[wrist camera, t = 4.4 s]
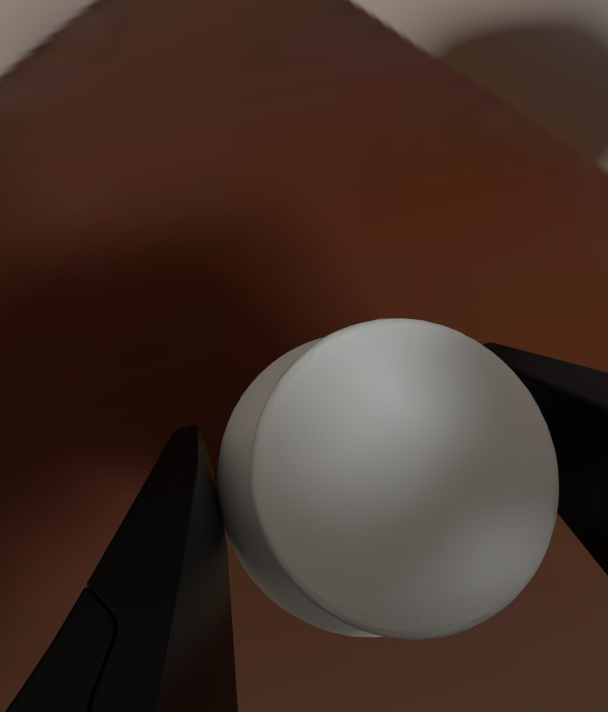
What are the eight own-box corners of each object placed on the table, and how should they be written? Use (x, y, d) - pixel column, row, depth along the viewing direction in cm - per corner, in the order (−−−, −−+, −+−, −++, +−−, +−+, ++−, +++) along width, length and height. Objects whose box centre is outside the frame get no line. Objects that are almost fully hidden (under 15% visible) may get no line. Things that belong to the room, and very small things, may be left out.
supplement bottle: (398, 581, 15) (625, 747, 5) (221, 557, 14) (148, 689, 5) (411, 406, 16) (610, 302, 7) (251, 382, 16) (233, 243, 7)
